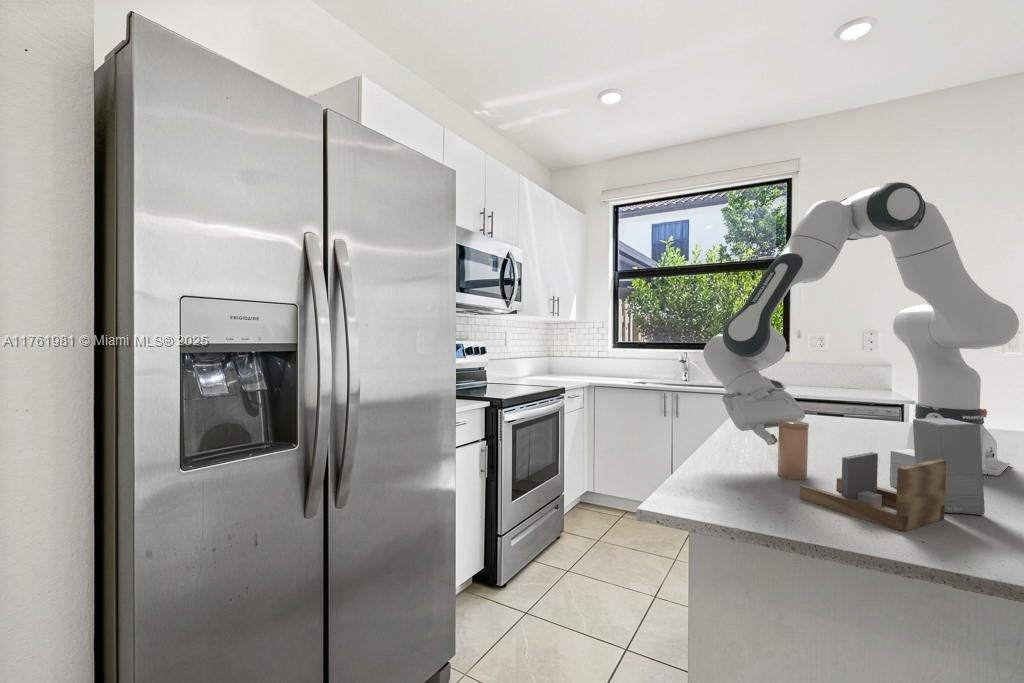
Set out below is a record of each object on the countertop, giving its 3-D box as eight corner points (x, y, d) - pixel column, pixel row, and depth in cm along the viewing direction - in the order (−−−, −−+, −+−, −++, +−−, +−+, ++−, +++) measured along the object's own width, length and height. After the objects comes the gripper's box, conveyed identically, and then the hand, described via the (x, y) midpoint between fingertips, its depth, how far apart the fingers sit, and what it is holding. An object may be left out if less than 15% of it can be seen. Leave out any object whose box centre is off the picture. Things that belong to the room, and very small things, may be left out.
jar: (788, 471, 111) (789, 419, 111) (813, 478, 106) (814, 424, 106) (771, 474, 109) (772, 421, 108) (796, 481, 104) (797, 426, 103)
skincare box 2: (985, 516, 84) (988, 425, 84) (938, 513, 86) (940, 423, 86) (952, 500, 93) (954, 416, 92) (909, 497, 94) (911, 415, 94)
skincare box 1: (908, 482, 103) (909, 448, 103) (941, 491, 98) (942, 455, 98) (888, 485, 101) (889, 450, 101) (921, 495, 96) (922, 457, 95)
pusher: (870, 499, 92) (871, 452, 92) (891, 505, 89) (892, 456, 89) (841, 507, 88) (842, 457, 88) (861, 513, 85) (862, 462, 85)
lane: (840, 489, 99) (841, 439, 98) (944, 518, 83) (946, 460, 83) (799, 498, 93) (800, 446, 93) (903, 531, 78) (904, 469, 77)
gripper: (727, 385, 110) (765, 437, 102) (786, 382, 119) (826, 429, 111) (711, 402, 114) (746, 454, 106) (769, 398, 123) (806, 445, 115)
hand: (787, 441), depth 108 cm, fingers open, 8 cm apart
